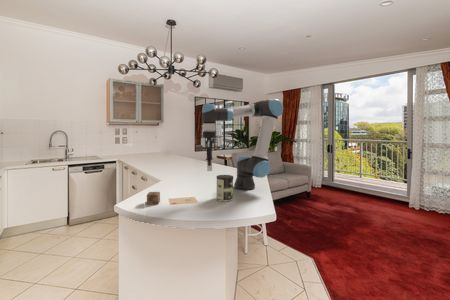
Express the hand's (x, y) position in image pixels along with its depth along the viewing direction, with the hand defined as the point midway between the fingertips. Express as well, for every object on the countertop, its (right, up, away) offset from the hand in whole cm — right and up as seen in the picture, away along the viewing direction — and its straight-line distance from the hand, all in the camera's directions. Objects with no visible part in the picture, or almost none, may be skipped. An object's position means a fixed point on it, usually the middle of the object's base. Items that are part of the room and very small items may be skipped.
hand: (209, 170), depth 140 cm
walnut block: (-31, -18, -7) cm, 37 cm away
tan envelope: (-16, -18, -2) cm, 24 cm away
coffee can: (+9, -18, +4) cm, 20 cm away
